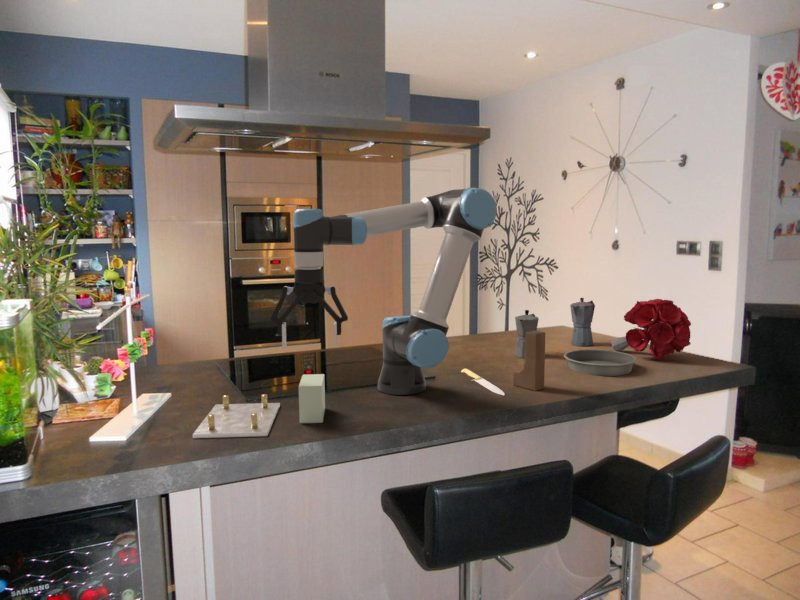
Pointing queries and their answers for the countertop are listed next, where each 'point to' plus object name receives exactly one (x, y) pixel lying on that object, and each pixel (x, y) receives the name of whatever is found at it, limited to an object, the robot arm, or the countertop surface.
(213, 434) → the chassis plate
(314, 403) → the pale green rectangular block
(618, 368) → the cake pan
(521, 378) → the wooden block
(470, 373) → the knife
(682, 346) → the bouquet
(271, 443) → the countertop surface
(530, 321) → the coffeepot
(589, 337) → the moka pot
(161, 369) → the countertop surface
